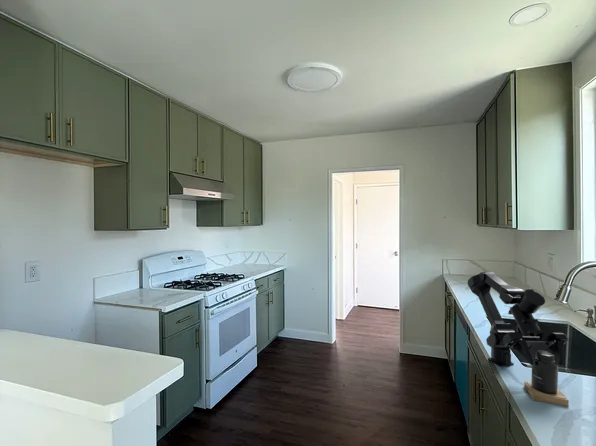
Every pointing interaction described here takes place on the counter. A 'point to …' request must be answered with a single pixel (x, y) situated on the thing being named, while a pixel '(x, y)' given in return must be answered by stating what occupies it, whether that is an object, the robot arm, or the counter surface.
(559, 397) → the square wooden coaster
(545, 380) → the supplement bottle
